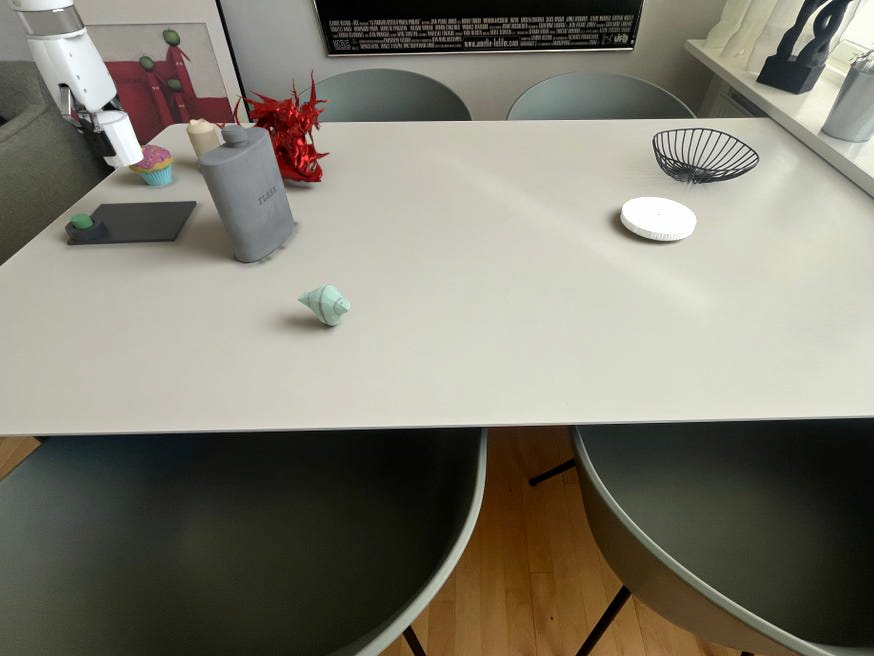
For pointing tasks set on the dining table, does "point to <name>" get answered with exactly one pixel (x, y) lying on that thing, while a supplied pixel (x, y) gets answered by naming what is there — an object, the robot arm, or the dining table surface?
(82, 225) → the tare button
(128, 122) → the shot glass
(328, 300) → the mint green pointed part
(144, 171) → the cupcake
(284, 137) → the sculptural form
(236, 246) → the flask
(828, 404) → the dining table surface
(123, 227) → the scale
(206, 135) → the candle
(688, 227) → the plastic lid
